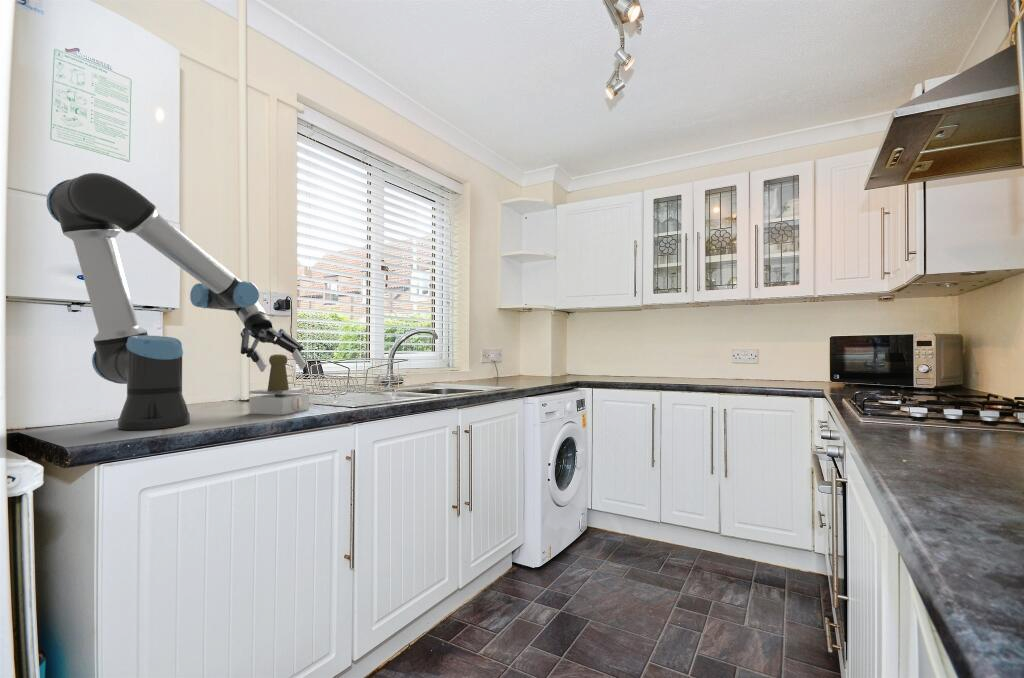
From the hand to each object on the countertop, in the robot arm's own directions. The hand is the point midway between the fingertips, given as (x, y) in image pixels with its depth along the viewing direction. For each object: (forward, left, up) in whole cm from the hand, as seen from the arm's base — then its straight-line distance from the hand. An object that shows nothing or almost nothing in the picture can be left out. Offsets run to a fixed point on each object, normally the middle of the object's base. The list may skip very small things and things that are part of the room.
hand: (284, 367), depth 151 cm
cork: (0, +2, -7) cm, 7 cm away
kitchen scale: (+1, +2, -14) cm, 14 cm away
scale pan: (+1, +2, -8) cm, 8 cm away
